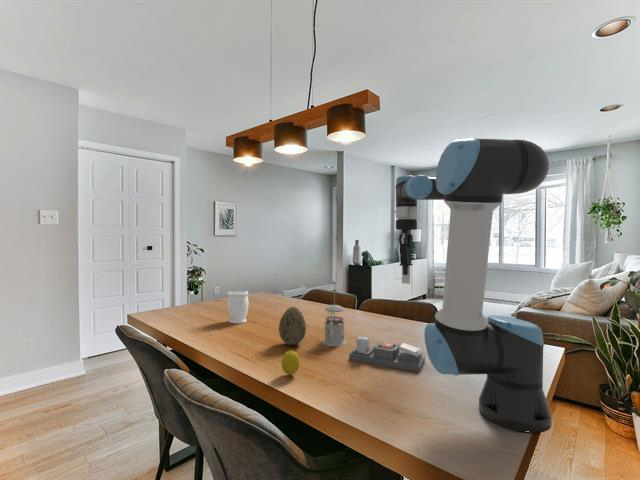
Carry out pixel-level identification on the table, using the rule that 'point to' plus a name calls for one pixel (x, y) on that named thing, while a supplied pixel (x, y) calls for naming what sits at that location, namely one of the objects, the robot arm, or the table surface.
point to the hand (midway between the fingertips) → (406, 283)
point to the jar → (237, 306)
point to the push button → (386, 346)
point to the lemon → (290, 362)
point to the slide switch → (362, 345)
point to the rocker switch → (410, 349)
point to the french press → (334, 325)
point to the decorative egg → (292, 326)
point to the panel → (390, 358)
